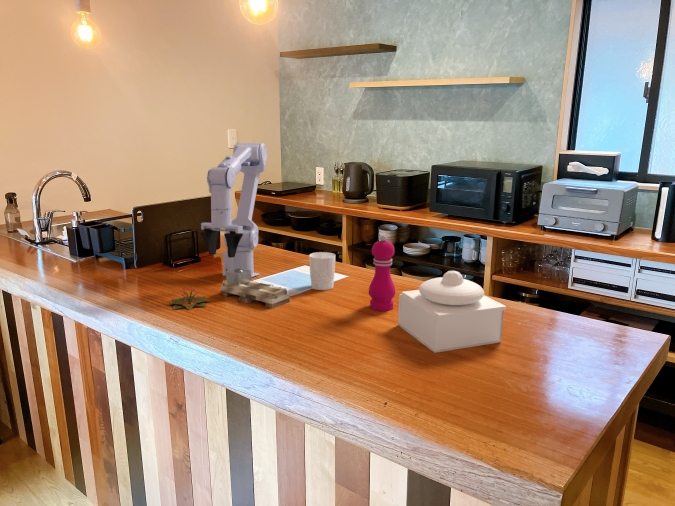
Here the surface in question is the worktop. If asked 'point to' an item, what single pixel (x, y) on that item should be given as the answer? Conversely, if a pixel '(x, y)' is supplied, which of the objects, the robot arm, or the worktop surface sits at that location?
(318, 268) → the white cup
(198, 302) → the green leafy spiky piece
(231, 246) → the robot arm
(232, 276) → the block
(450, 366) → the worktop surface
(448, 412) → the worktop surface
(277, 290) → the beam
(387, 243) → the pepper mill
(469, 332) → the butter dish
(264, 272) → the worktop surface
